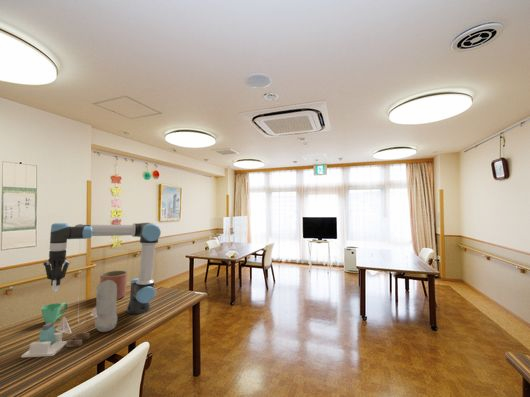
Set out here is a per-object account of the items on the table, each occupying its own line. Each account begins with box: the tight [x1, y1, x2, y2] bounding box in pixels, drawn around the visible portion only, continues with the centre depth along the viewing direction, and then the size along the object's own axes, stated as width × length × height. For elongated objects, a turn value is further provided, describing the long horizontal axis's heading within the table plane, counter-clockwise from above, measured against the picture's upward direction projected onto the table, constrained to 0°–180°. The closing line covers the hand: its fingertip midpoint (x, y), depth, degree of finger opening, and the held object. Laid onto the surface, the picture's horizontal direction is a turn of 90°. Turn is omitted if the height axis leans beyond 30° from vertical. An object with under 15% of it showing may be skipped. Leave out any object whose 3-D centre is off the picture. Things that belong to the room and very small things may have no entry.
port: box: [20, 332, 68, 358], centre depth 127 cm, size 14×12×6 cm
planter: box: [99, 269, 128, 301], centre depth 200 cm, size 19×19×20 cm
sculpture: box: [94, 280, 118, 333], centre depth 150 cm, size 15×12×30 cm
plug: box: [38, 323, 56, 346], centre depth 127 cm, size 4×5×12 cm
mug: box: [40, 302, 68, 324], centre depth 159 cm, size 15×10×10 cm
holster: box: [65, 332, 91, 348], centre depth 135 cm, size 7×9×3 cm
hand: (55, 291), depth 139 cm, fingers closed
